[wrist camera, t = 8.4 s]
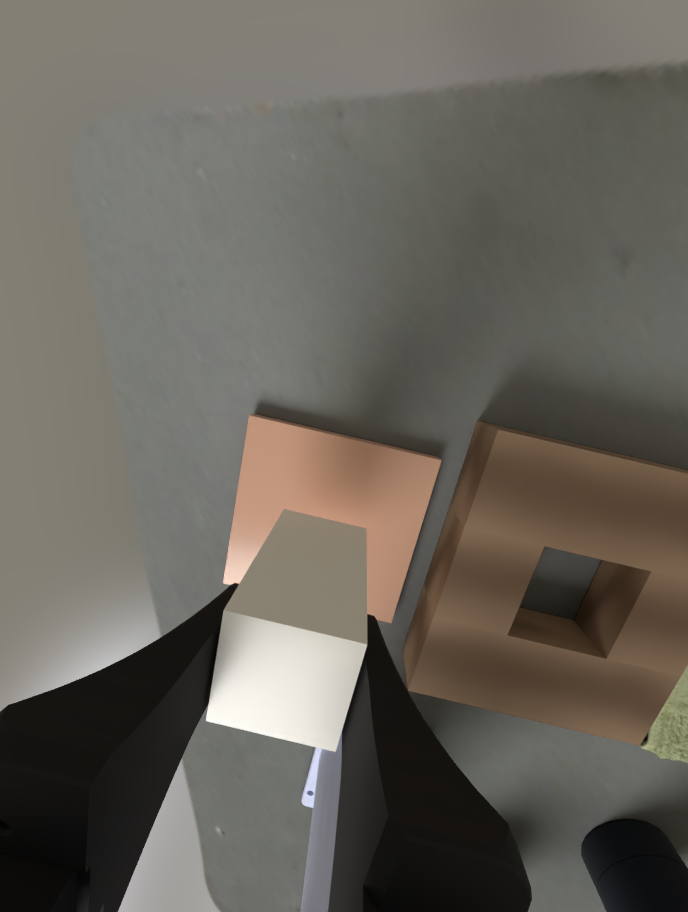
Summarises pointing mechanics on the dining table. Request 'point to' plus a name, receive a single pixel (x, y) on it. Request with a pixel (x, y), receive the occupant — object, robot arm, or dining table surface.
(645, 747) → the washcloth
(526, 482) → the brown board with hole
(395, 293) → the dining table surface
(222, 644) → the plug
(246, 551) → the tile
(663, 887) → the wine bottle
